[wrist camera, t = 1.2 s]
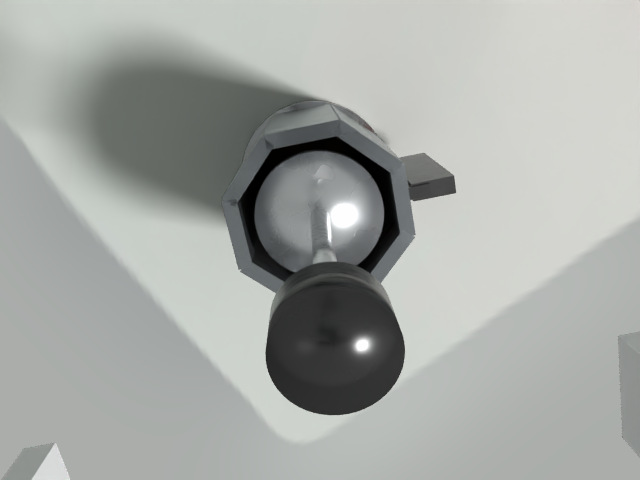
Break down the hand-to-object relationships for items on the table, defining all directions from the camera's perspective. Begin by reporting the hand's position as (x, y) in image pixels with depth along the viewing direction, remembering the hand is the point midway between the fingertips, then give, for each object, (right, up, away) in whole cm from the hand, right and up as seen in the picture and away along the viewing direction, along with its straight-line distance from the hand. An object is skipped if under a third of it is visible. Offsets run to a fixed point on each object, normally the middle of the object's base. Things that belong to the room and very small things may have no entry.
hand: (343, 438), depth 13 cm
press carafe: (0, +10, +29) cm, 30 cm away
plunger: (-1, +6, +18) cm, 19 cm away
